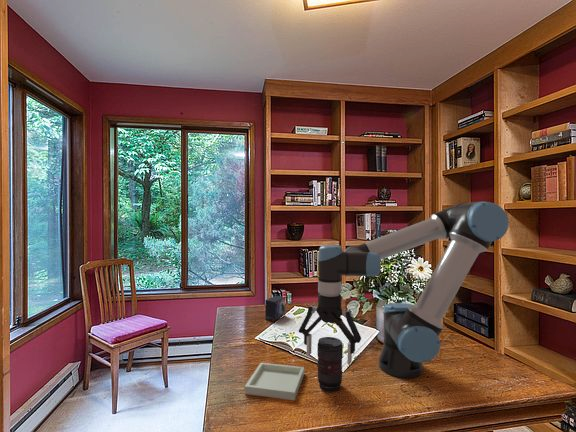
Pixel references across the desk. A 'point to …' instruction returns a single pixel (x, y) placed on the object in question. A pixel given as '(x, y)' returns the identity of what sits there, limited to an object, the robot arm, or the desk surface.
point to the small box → (274, 308)
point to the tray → (275, 381)
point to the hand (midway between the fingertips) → (328, 358)
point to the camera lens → (330, 363)
